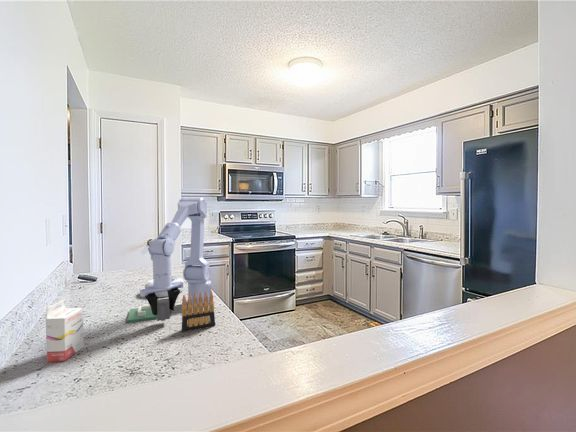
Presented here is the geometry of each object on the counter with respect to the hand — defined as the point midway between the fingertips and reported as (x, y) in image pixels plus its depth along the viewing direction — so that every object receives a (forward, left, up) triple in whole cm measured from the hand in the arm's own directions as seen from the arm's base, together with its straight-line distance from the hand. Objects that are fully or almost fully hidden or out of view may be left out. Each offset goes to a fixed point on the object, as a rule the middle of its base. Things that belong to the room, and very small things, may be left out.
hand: (163, 312), depth 105 cm
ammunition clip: (-11, +8, -5) cm, 14 cm away
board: (+5, -12, -4) cm, 14 cm away
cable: (0, -41, -5) cm, 41 cm away
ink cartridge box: (+25, +12, -4) cm, 28 cm away
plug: (0, 0, -2) cm, 2 cm away
